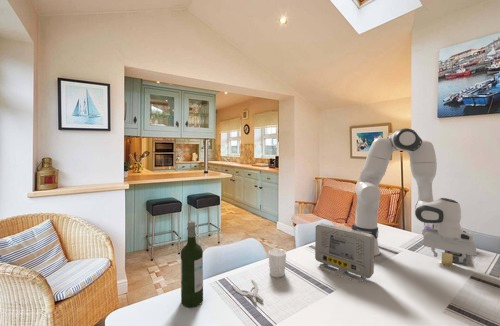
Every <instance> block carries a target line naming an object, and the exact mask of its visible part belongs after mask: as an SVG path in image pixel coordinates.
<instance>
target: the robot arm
mask: <svg viewBox="0 0 500 326" xmlns="http://www.w3.org/2000/svg"><path fill="white" fill-rule="evenodd" d="M394 151H405V152H407V154H408V156H409V167H410V172H411V176H412V177H413V178H414V180H415V182H416V185H417V194H418V197H417V198H418V199H417V202H416V204H415V206H414V216H415V217H416V219H417V220H418V221H419V222H421V223H423V224H424V223H437V230H435V229H429V228H426V229H424V228H423V229H422V231H421V232H422V233H421V234H422V237H423V239H422V245H423V247H426V248H430V250H431V252H432V253H433V257H435V258H438V257H439V255H438V252H436V250H435V249H437V250H443V251H445V250H446V251H451V252H456V253H461V254H462V257H461V258H460V257H459V262H462V263H463V259H464V258H467V255H468V256H471V257H472V256H473V257H475V256H476V255H477V252H478V251H477V247H476V243H475V240H474V235H473V233H472V232H469V231H468V230H465V229H463V228H462V229H461V227H462V226H461V224H460V223H461V219H462V210H461V209H462V208H461V204H460V203H459V202H458V201H457V200H454V199H452V198H446V197H439V198H438V199H437V200H434V197H433V196H434V195H433V181H434V179H435V177H436V174H437V168H438V167H437V164H438V163H437V155H436V150H435V146H434V145H433V143H432V142H431V141H427V140H422V138H421V137H420V135H419V134H418V133H417V131H415V130H414V129H412V128H407V127H406V128H401V129H397V130H396V131H394V132H392V133H391V134H390V135H388V136H387V137H378V138H376V139H374V140H373V142H372V144H371V145H370V147H369V149H368V152H367V155H366V159H365V161H364V164H363V166H362V169H361V172H360V175H359V177H358V179H357V182H356V185H355V187H354V192H355V194H356V195H357V196H356V207H355V220H354V221H355V222H352V224H351V226H350V227H351V228H350V229H351V230H355V231H360V232H364V233H369V234H372V235H373V236H374V238H375V243H374V257H375V256H379V255H380V253H381V251H380V248H379V241H378V240H379V239H378V238H379V226H378V214H379V207H380V202H381V198H382V197H381V193H382V192H381V189H380V188H379V185H380V183H381V181H382V179H383V177H384V176H385V174H386V172H387V169H388V165H389V162H390V159H391V156H392V154H393V153H394Z"/></svg>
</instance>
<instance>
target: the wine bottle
mask: <svg viewBox="0 0 500 326" xmlns="http://www.w3.org/2000/svg"><path fill="white" fill-rule="evenodd" d="M186 241H187V242H186V244H185V245H184V246H183V248H182V249H181V251H180V296H181V298H180V302H181V305H182V306H183V307H185V308H188V309H190V308H193V309H194V308H196V307H199V306H200V305H201V304H202V303H203V301H204V265H203V264H204V263H203V262H204V257H203V256H204V253H203V252H204V250H203V248H202V246H201V245H200V244H198V243H197V236H196V221H195V220H189V221H188V222H187V239H186Z"/></svg>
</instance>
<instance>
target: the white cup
mask: <svg viewBox="0 0 500 326" xmlns="http://www.w3.org/2000/svg"><path fill="white" fill-rule="evenodd" d="M286 258H287V251H286V250H284V249H282V248H273V249H270V250H268V267H269V275H270V276H271V277H273V278H282V277H285V272H286V271H285V269H286V263H287V262H286V261H287V259H286Z"/></svg>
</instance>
